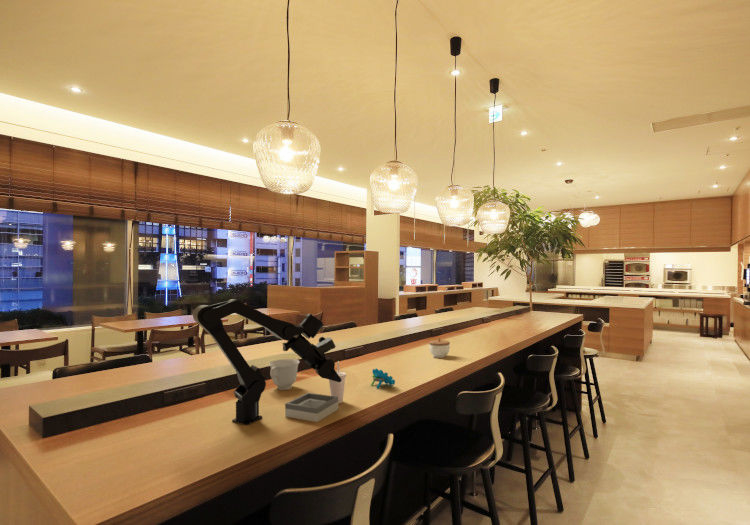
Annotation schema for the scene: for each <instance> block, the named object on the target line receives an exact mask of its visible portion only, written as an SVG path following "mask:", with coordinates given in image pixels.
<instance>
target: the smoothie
mask: <svg viewBox="0 0 750 525" xmlns="http://www.w3.org/2000/svg"><path fill="white" fill-rule="evenodd" d="M336 372H337V374H338V375H339V377H340V378H341V379H342V381H341V382H336V381H333V380H329V379H328V383H329V390H330V396H335V397H338V405H340V404H343V402H344V393H345V392H344V391H345V386H346V385H345V384H346V378H347V373H346V372H344V371H340V361H339V360H338V361H337V371H336ZM339 403H340V404H339Z"/></svg>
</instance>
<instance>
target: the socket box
mask: <svg viewBox="0 0 750 525" xmlns="http://www.w3.org/2000/svg"><path fill="white" fill-rule="evenodd" d="M284 406H285V407H284V408H285V410H284V411H285V415H284V416H285V418H292V419H297V420H298V419H299V420H303V421H307V422H308V421H309V422H314V423H318V422H320V421H322V420H323V419H325V418H326V417H328V416H330V415H331V414H333V413H335V412H336V411H338V410H339V404H338V397H335V396H331V395H327V394H319V393H313V392H307V393H304V394H302V395H300V396H299V397H296V398H294V399H292V400H289V401H287V402H285V403H284Z"/></svg>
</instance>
